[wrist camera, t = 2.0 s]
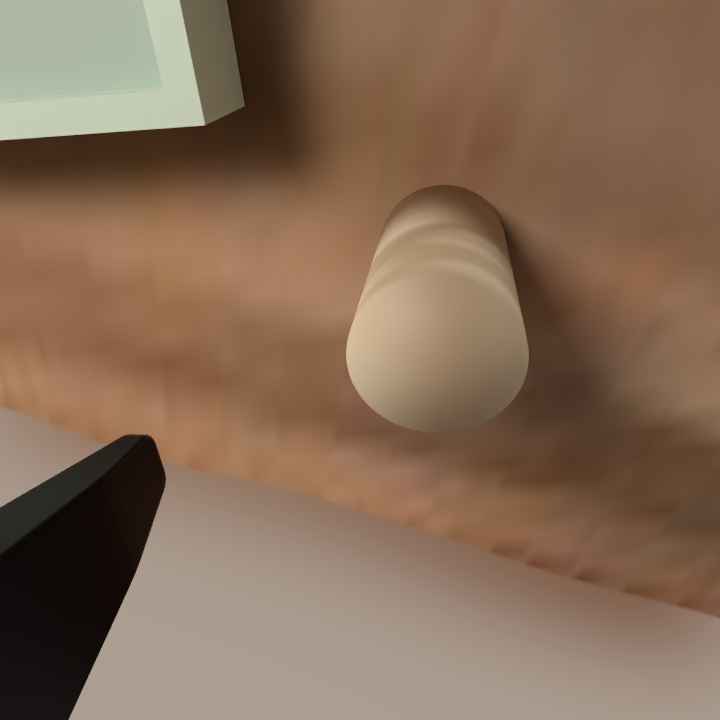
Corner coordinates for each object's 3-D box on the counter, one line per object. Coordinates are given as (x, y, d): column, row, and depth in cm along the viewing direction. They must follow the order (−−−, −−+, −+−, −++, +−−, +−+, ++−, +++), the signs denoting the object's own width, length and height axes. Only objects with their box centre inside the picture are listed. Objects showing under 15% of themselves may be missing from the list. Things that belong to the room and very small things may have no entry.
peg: (507, 181, 16) (534, 274, 11) (503, 302, 18) (524, 434, 13) (376, 188, 17) (337, 278, 11) (384, 304, 19) (354, 432, 13)
